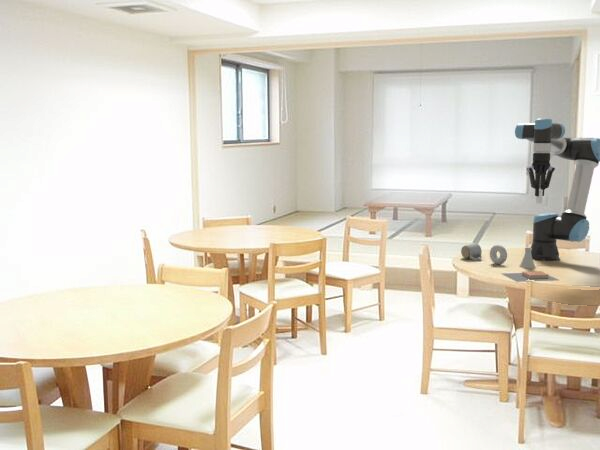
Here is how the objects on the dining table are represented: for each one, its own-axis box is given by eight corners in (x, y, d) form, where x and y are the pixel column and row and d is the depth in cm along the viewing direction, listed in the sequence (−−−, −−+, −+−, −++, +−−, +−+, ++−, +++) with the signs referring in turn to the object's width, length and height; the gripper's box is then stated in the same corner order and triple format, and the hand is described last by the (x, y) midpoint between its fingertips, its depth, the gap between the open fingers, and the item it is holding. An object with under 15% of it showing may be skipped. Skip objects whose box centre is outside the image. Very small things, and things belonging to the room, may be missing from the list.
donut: (508, 265, 316) (509, 245, 315) (503, 266, 315) (504, 246, 313) (492, 262, 325) (493, 242, 323) (487, 263, 323) (488, 243, 322)
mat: (541, 273, 299) (541, 272, 299) (559, 281, 283) (559, 280, 283) (500, 275, 296) (500, 273, 296) (516, 283, 280) (516, 281, 280)
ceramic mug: (459, 257, 337) (460, 243, 335) (472, 256, 340) (473, 242, 339) (472, 261, 327) (473, 247, 326) (485, 260, 330) (486, 245, 329)
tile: (540, 271, 294) (522, 271, 292) (548, 274, 287) (529, 275, 285) (540, 274, 294) (522, 275, 293) (548, 278, 287) (529, 278, 286)
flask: (527, 270, 306) (528, 250, 304) (516, 267, 312) (517, 247, 311) (538, 269, 308) (539, 248, 307) (527, 266, 315) (528, 246, 314)
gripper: (550, 152, 301) (548, 202, 304) (524, 152, 299) (522, 202, 303) (559, 152, 293) (556, 203, 297) (532, 152, 292) (529, 204, 295)
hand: (539, 203), depth 300 cm, fingers closed
